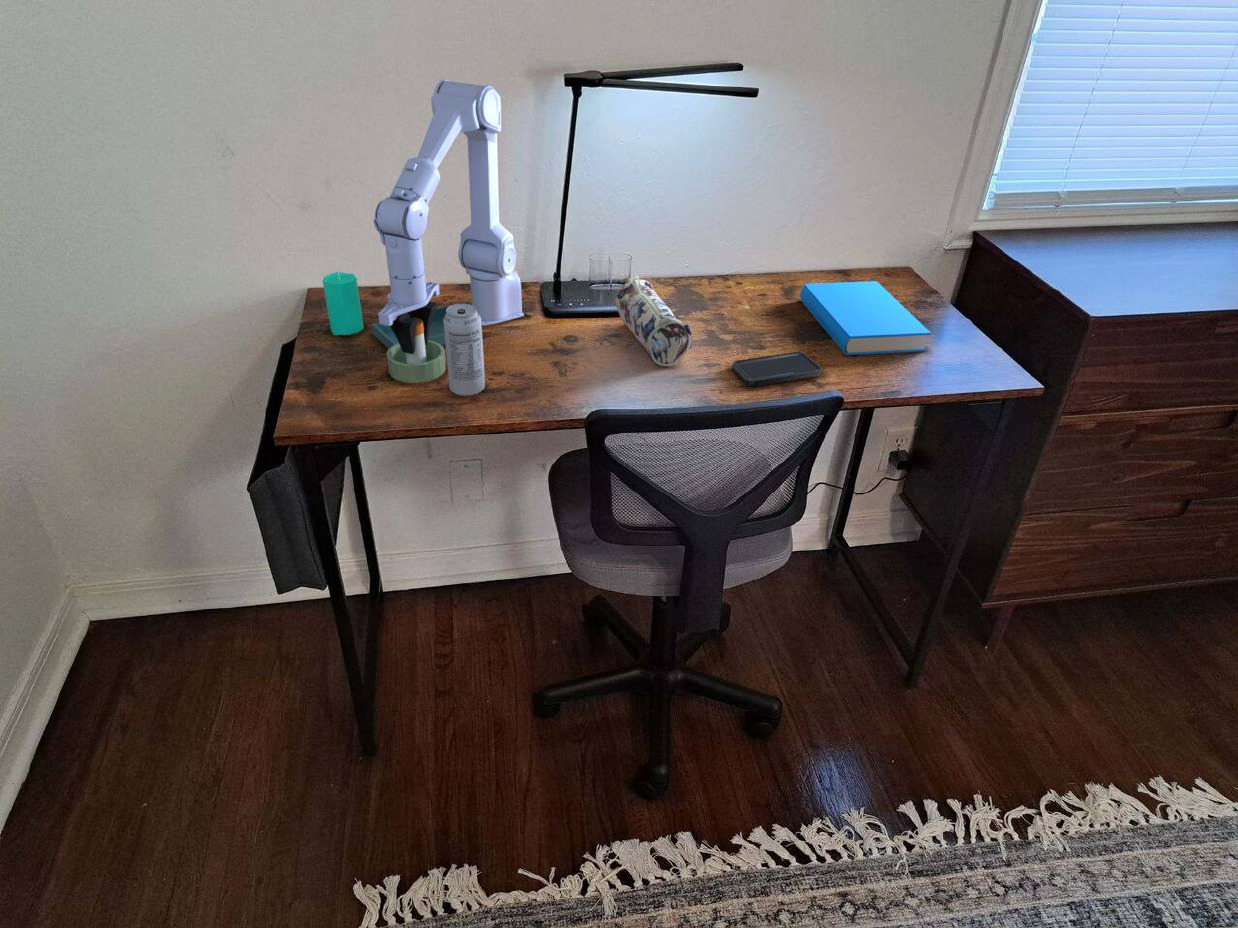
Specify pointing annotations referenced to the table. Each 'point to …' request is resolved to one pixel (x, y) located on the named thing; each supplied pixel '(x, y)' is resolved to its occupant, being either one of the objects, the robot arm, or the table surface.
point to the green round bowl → (417, 371)
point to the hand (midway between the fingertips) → (415, 347)
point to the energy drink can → (464, 349)
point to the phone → (776, 368)
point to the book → (864, 318)
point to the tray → (435, 333)
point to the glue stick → (418, 346)
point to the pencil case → (652, 322)
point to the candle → (343, 303)
